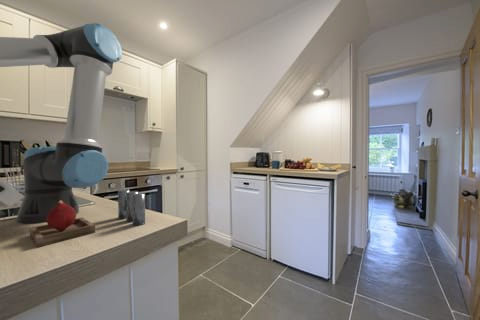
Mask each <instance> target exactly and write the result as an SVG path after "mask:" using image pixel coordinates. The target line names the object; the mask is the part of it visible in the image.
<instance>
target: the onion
mask: <svg viewBox="0 0 480 320" xmlns="http://www.w3.org/2000/svg"><path fill="white" fill-rule="evenodd" d="M75 219H77V214H76V212H75V210H74V209H73V208H72V207H71V206H70V205H67V204H65V203H63V201H59V202H58V205H57V206H55V207H54V208H53V209H51V211H50V212H49V213H48V215H47V219H46V221H45V222H46V225H47V224H48V225H49V226H50V227H52V228H54V229H56V230H59V231H64V230H65V229H66V228H68V227H69V226H70V225H71V224H72V223H73V222H74V221H75Z"/></svg>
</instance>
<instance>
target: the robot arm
mask: <svg viewBox="0 0 480 320" xmlns="http://www.w3.org/2000/svg"><path fill="white" fill-rule="evenodd" d="M122 55H123V50H122V46H121V44H120V41H118V38H117V37H116V35H115V34H114V33H113V32H112V30H110V29H109V28H108V27H107V26H105V25H103V24H101V23H98V22H93V23H86V24H84V25H81V26H78V27H73V28H70V29H67V30H64V31H60V32H56V33H52V34H35V35H34V36H33V37H12V36H10V37H9V36H0V68H10V67H11V68H12V67H26V66H27V67H29V66H42V65H43V66H45V67H47V68H51V69H53V68H74V70H73V76H72V82H71V89H70V96H69V102H68V108H67V109H68V111H67V117H66V123H65V129H64V137H63V138H62V139H60V140H58V141H57V142H56V144H55V145H56V146H43V147H42V146H41V147H39V146H38V147H33V148H28V149H27V150H25V151H24V155H23V156H24V157H23V160H22V161H23V174H24V175H23V177H24V195H23V194H22V193H20V192H19V191H17V190H16V187H15V186H14V185H12V184H11V183H9V182H8V181H6V180H5V179H3V178H2V177H0V203H3V204H5V205H6V206H8V207H13V206H14V205H15V204H16V203H18V202H20V200H22V199H23V200H22V202H21V205H20V208H19V210H18V212H17V214H16V215H17V218H16V219H17V222H18V223H23V224H25V223H26V224H29V223H30V224H31V223H33V224H34V223H43V222H47V221H46V219H47V215H48V213H49V212H50V211H51V209H53V208H54V207H55V206H57V205H58V202H59V201H63V203H65V204H67V205H70V206H71V207H72V208H73V209H74V210H75V212H76V215H77V214H79V212H80V211H79V210H80V209H79V208H80V207H79V203H78V201H77V200H76V199H77V198H76V197H75V195H74V192H73V189H83V188H90V187H94V186H96V185H98V184H99V183H101V182H102V181H103V180H104V179H105V177H106V176H107V174H108V171H109V162H108V159H106V156H105V155H104V154H103V147H102V146H101V145H100V143H99V134H100V129H101V128H100V127H101V119H102V111H103V104H104V97H105V88H106V81H107V80H106V79H107V76H110V75H112V74H113V65H114V63H118V62H119V61H120V60H121V59H122Z"/></svg>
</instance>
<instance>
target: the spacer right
mask: <svg viewBox="0 0 480 320" xmlns="http://www.w3.org/2000/svg"><path fill="white" fill-rule="evenodd" d="M132 200H133V222H132V226H135V227H136V226H137V227H138V226H143V225H145V224H146V193H144V192H140V193H139V192H138V193H137V194H133V195H132Z"/></svg>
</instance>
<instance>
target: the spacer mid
mask: <svg viewBox="0 0 480 320" xmlns="http://www.w3.org/2000/svg"><path fill="white" fill-rule="evenodd" d="M137 193H139V191H137V190H134V191H133V190H132V191H131V190H130V192H127V193H126V199H127V219H126V222H127V223H133V200H132V195H133V194H137Z"/></svg>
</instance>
